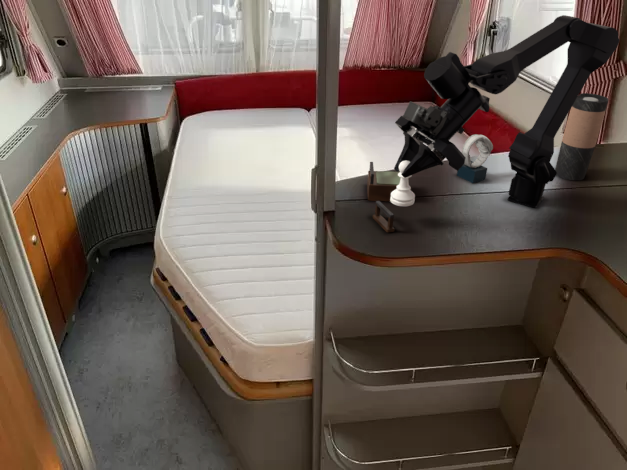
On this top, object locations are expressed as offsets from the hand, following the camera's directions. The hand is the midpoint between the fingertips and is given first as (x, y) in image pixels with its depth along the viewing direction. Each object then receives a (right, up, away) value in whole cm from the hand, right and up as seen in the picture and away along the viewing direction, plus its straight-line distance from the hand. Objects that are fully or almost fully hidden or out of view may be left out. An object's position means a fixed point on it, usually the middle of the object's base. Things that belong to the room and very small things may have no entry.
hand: (399, 173), depth 106 cm
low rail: (-3, -10, +5) cm, 12 cm away
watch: (+22, +2, +27) cm, 35 cm away
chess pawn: (+1, -6, +4) cm, 7 cm away
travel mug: (+48, +3, +30) cm, 57 cm away
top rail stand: (0, -3, +18) cm, 18 cm away
